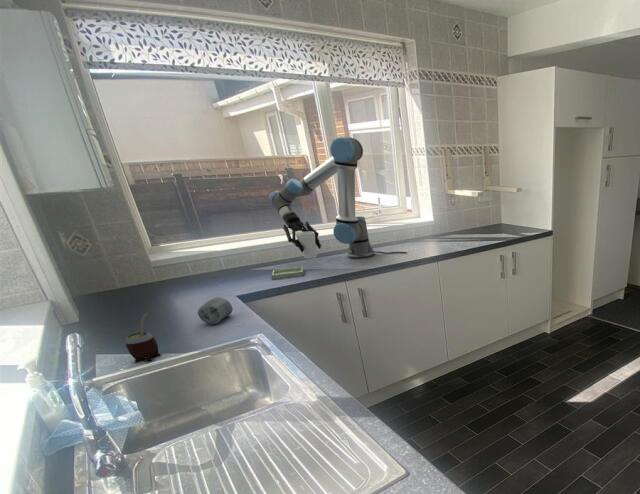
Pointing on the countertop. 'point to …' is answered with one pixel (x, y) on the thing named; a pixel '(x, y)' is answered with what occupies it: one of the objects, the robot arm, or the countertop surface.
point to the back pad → (287, 273)
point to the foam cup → (307, 243)
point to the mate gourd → (142, 344)
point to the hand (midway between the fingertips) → (311, 248)
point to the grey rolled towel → (215, 310)
